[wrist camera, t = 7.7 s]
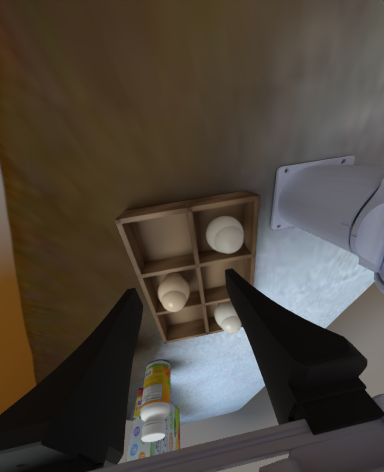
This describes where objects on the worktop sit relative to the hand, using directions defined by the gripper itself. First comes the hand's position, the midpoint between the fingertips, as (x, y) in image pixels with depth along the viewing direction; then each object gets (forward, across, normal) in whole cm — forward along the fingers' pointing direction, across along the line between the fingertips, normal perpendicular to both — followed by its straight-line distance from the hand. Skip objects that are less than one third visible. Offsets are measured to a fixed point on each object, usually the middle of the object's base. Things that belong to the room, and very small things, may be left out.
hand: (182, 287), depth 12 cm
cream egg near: (+8, -5, -1) cm, 10 cm away
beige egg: (+8, +2, +6) cm, 10 cm away
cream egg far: (+8, -5, +13) cm, 16 cm away
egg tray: (+9, -2, +6) cm, 11 cm away
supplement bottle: (+9, +11, +31) cm, 34 cm away
